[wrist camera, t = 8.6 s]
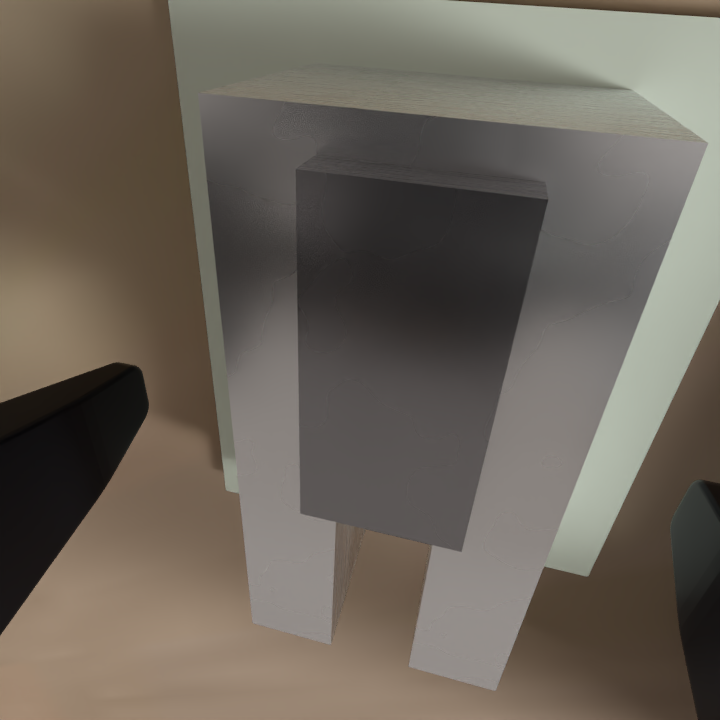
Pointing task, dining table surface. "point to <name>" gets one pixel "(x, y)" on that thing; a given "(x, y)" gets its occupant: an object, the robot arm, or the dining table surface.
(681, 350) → the rubber mat
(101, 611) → the dining table surface
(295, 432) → the lever cap
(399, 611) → the dining table surface
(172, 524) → the dining table surface
